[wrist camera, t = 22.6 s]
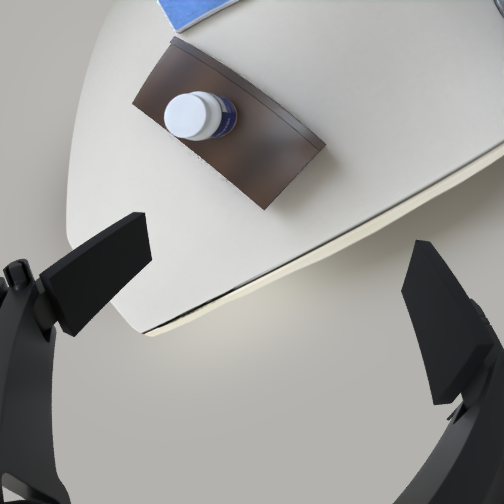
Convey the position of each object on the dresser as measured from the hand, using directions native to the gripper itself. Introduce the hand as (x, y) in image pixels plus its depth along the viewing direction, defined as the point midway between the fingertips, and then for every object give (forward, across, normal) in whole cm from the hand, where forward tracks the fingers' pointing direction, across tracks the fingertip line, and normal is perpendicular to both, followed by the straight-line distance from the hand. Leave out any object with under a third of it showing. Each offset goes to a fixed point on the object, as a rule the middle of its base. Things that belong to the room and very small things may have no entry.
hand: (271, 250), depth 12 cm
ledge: (+28, -11, +6) cm, 31 cm away
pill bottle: (+24, -11, +6) cm, 27 cm away
